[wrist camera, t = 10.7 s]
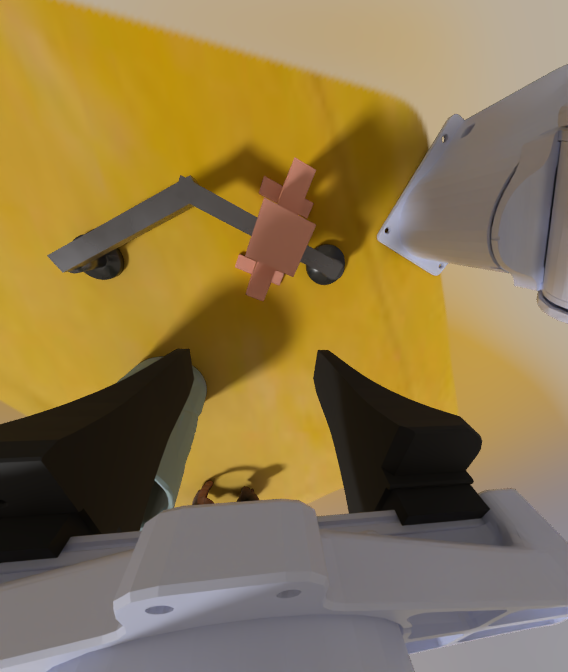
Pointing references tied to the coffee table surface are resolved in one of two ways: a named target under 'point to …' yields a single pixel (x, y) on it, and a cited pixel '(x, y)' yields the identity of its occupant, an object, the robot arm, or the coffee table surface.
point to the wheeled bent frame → (102, 243)
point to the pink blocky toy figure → (279, 231)
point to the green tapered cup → (174, 447)
